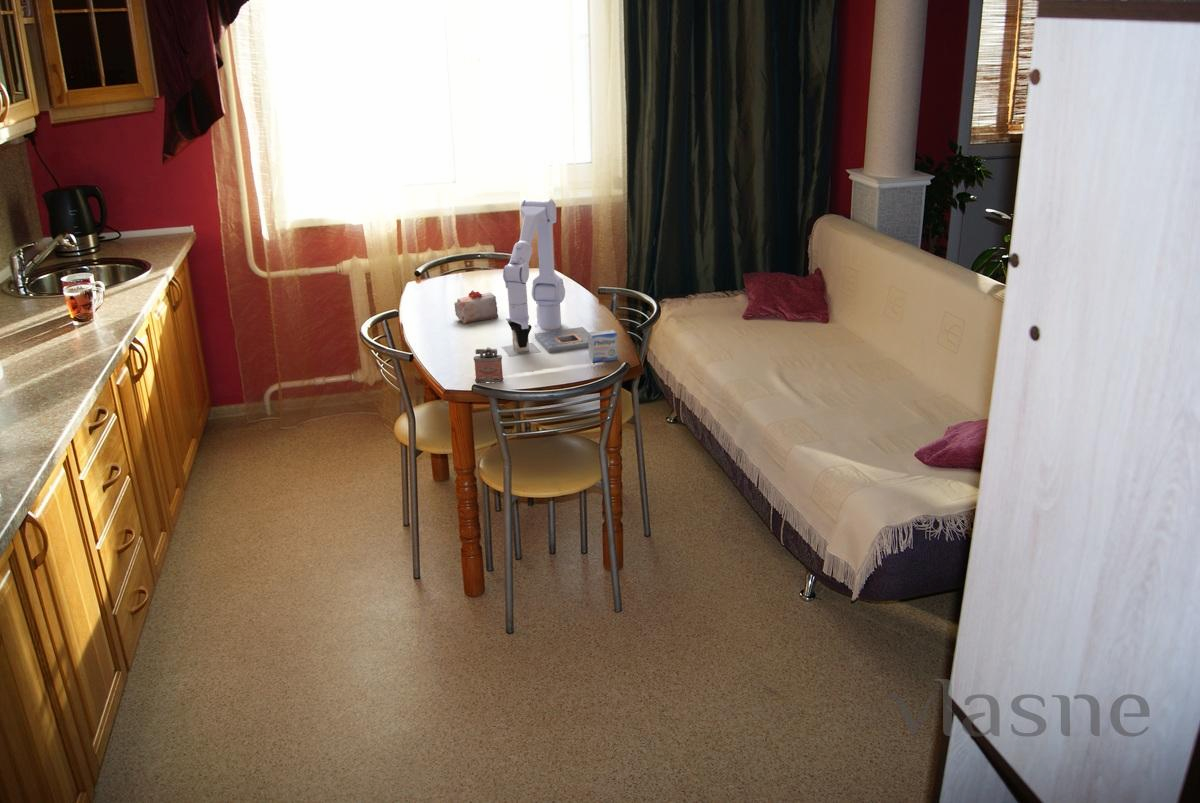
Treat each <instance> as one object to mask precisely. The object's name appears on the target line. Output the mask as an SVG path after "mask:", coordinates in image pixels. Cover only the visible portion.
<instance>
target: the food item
mask: <svg viewBox="0 0 1200 803" xmlns="http://www.w3.org/2000/svg"><path fill="white" fill-rule="evenodd" d="M453 304H454V312H455V316H456V317H457V318H458V320H460V321H461V322H462V323H463V324H465V325H466V324H471V323H474V322H479V321H480V322H481V321H485V320H486V321H487V320H491V318H492V319H496V318H499V314H498V312H499V311H498V306H497V304H498V302H497V298H496V295H494V293H492V292H486V293H485V292H484V293H481V292H479V291H475V290H471V291H470V292H469V293H468V296H464V297H460V298H457V301H455V302H454V303H453Z"/></svg>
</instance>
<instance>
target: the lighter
mask: <svg viewBox="0 0 1200 803" xmlns="http://www.w3.org/2000/svg"><path fill="white" fill-rule="evenodd" d="M474 351H475V355H476V356H473V361H474V369H475V370H474V371H475V383H476V384H478V383H480V384H481V383H486V382H500V383H503V382H504V381H505V380H504V377H503V376H504V374H503V364H502V359H503V356H502V354H498V349H497V348H491V347H486V348H485V349H484V348H475V350H474ZM503 380H504V381H503ZM502 381H503V382H502ZM480 384H479V385H480ZM481 385H482V384H481Z"/></svg>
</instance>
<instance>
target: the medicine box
mask: <svg viewBox="0 0 1200 803" xmlns="http://www.w3.org/2000/svg"><path fill="white" fill-rule="evenodd" d="M588 343H589V347H588V356H589V358H590V360H592V363H593V364H598V363H606V362H613V361H618V333H617V332H616V331H615V330H614V329H605V330H598V331H597V330H596V331H590V332H589V331H588Z"/></svg>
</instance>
